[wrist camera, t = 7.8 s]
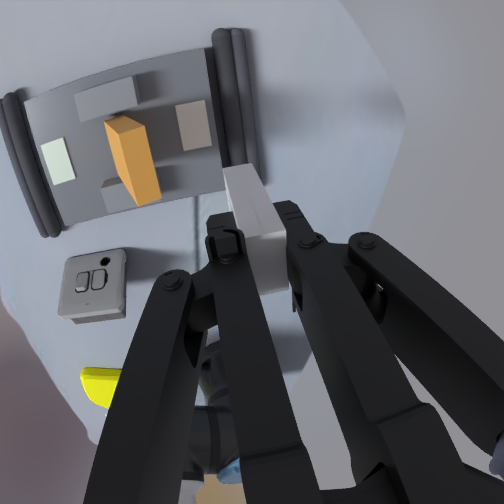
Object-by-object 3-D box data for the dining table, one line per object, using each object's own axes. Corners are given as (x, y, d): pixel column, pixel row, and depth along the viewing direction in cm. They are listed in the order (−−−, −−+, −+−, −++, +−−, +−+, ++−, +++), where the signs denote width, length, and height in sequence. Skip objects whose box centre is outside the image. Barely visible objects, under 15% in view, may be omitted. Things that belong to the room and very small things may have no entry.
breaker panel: (223, 179, 38) (228, 199, 34) (72, 214, 37) (59, 236, 32) (202, 48, 29) (204, 47, 25) (34, 97, 27) (13, 106, 23)
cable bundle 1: (65, 230, 38) (60, 238, 36) (45, 235, 38) (40, 244, 36) (18, 88, 26) (10, 91, 24) (-3, 99, 26) (-11, 102, 24)
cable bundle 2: (260, 188, 40) (264, 195, 38) (233, 193, 40) (235, 200, 38) (241, 26, 28) (244, 24, 27) (209, 30, 28) (210, 28, 26)
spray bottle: (129, 367, 56) (143, 420, 70) (77, 364, 54) (102, 417, 68) (128, 380, 54) (143, 430, 68) (75, 376, 52) (101, 427, 65)
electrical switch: (125, 246, 41) (116, 298, 34) (135, 273, 45) (131, 325, 38) (65, 257, 40) (50, 307, 33) (79, 282, 44) (68, 332, 37)
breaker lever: (135, 168, 32) (163, 201, 25) (117, 175, 32) (139, 210, 24) (120, 111, 29) (143, 121, 21) (102, 117, 28) (117, 130, 20)
